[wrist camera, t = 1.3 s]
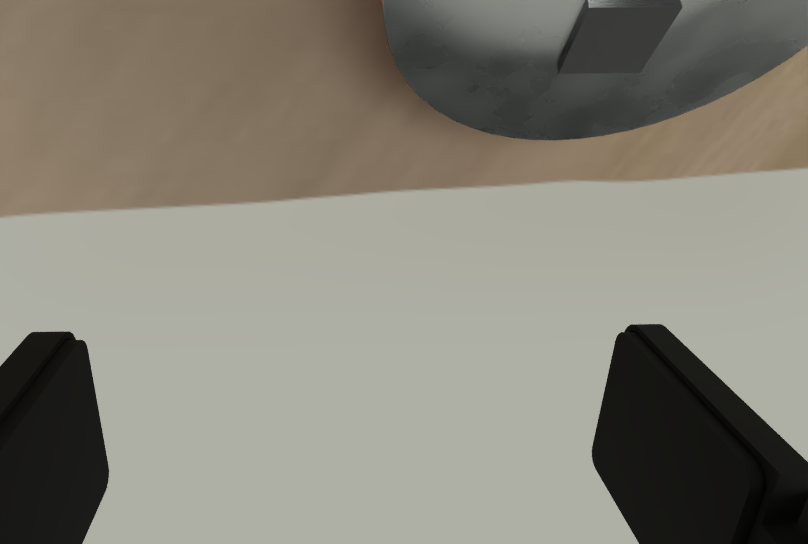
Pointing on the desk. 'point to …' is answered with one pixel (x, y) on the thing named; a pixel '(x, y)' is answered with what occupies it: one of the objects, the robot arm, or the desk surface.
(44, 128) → the desk surface
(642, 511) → the robot arm
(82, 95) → the desk surface
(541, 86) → the lid
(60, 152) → the desk surface
